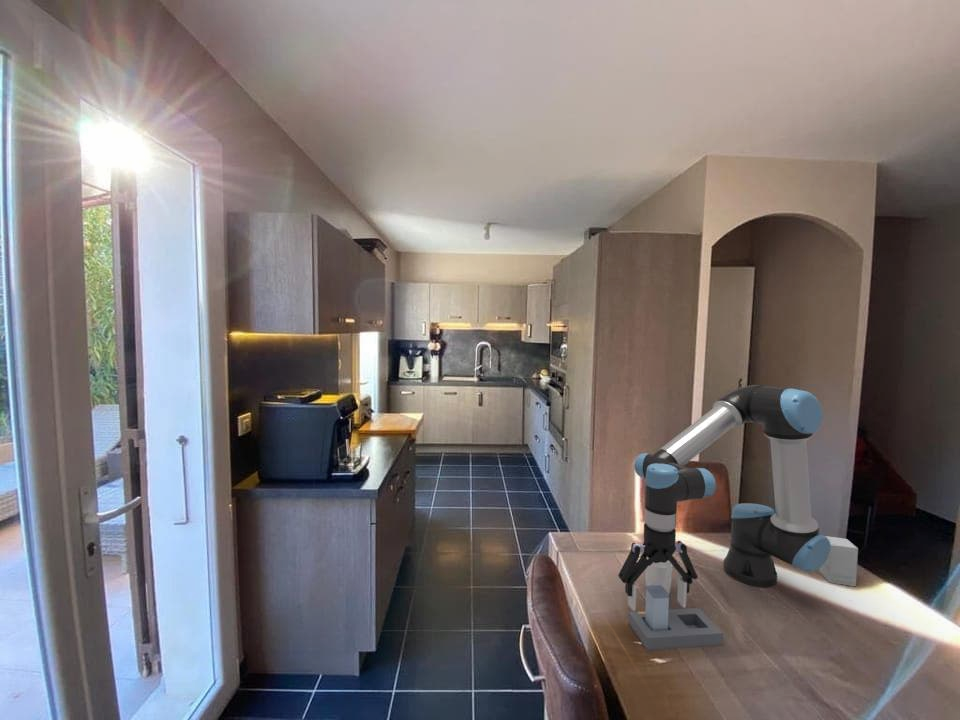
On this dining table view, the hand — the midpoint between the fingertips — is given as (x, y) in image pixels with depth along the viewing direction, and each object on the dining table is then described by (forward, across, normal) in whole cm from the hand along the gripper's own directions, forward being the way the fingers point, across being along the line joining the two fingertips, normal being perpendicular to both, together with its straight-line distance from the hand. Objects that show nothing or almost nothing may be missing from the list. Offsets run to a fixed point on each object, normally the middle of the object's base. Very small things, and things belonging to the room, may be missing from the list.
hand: (656, 605), depth 110 cm
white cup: (+9, -11, -19) cm, 24 cm away
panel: (+9, -5, 0) cm, 10 cm away
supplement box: (+9, -74, -21) cm, 77 cm away
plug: (+8, 0, 0) cm, 8 cm away
